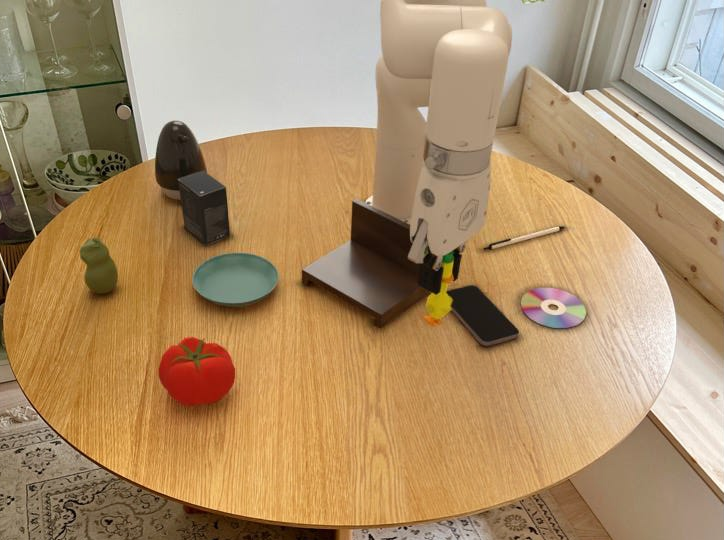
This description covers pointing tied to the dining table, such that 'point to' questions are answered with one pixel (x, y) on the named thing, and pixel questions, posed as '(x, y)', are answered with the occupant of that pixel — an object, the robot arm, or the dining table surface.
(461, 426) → the dining table surface
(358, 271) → the shelf
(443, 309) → the toy figure
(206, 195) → the box
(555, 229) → the pen
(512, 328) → the smartphone
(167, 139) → the dark brown egg shape
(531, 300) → the cd
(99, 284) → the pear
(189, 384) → the tomato
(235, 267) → the saucer
